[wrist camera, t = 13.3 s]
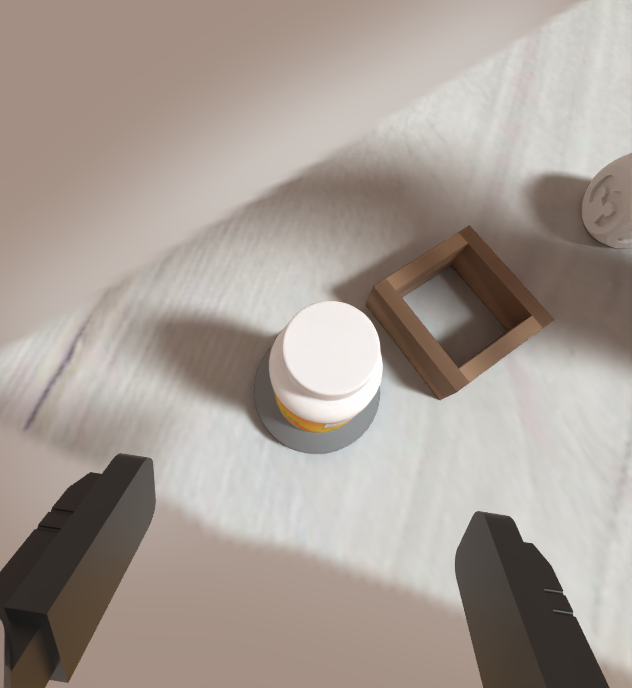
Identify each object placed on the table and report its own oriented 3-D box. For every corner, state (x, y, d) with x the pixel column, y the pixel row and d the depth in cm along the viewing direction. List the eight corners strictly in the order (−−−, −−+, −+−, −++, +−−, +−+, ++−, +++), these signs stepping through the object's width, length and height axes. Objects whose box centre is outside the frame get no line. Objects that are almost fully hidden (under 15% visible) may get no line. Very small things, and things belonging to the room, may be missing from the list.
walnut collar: (452, 248, 30) (469, 225, 27) (527, 334, 28) (554, 319, 25) (365, 304, 28) (373, 286, 25) (439, 400, 26) (457, 391, 23)
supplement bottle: (261, 371, 25) (241, 316, 16) (335, 336, 26) (357, 264, 17) (298, 450, 24) (300, 439, 15) (375, 410, 25) (423, 375, 16)
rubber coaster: (331, 312, 28) (332, 306, 27) (401, 407, 26) (405, 404, 25) (231, 374, 26) (229, 371, 25) (300, 480, 24) (300, 481, 23)
